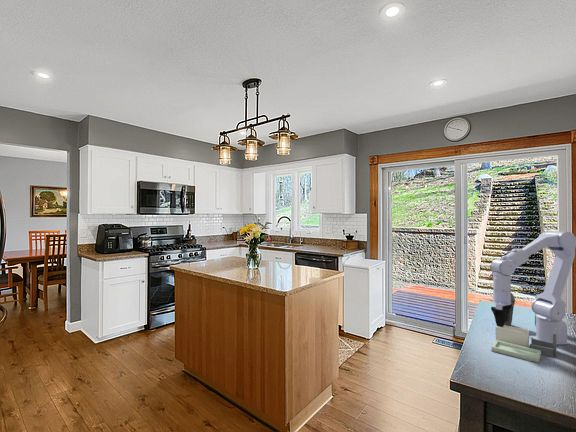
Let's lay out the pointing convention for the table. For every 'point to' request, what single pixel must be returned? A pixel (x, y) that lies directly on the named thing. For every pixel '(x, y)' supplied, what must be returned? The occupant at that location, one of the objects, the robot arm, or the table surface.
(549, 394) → the table surface
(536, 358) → the tray
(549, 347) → the bay
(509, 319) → the beverage cup
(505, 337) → the box
